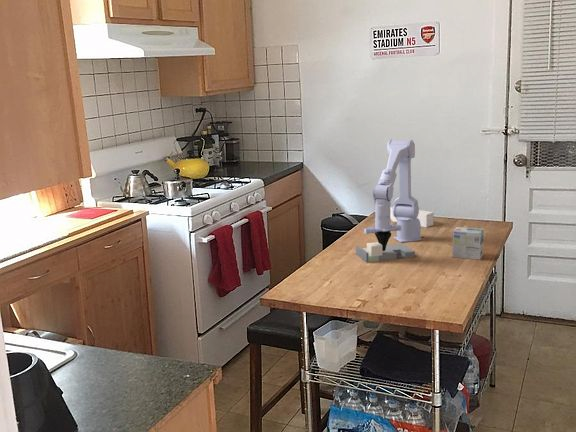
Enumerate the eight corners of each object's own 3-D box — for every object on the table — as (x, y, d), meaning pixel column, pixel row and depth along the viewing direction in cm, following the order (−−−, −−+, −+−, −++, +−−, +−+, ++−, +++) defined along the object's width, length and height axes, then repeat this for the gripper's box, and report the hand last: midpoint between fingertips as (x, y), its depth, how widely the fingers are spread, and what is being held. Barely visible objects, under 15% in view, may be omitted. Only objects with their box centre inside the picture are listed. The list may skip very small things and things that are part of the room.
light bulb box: (483, 255, 256) (484, 228, 253) (480, 260, 250) (481, 232, 247) (455, 252, 260) (456, 226, 258) (451, 257, 254) (452, 230, 252)
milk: (426, 214, 296) (385, 207, 311) (426, 227, 298) (385, 220, 312) (434, 212, 300) (393, 205, 315) (433, 225, 302) (393, 217, 317)
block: (377, 252, 257) (377, 242, 256) (382, 255, 252) (382, 245, 251) (366, 253, 255) (366, 243, 254) (371, 256, 251) (371, 246, 250)
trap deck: (402, 249, 267) (402, 240, 266) (414, 256, 256) (414, 247, 256) (356, 254, 262) (355, 245, 261) (366, 262, 252) (366, 253, 251)
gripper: (369, 220, 246) (369, 255, 250) (404, 216, 250) (404, 251, 253) (362, 215, 253) (362, 250, 256) (397, 212, 257) (396, 246, 260)
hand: (382, 250), depth 255 cm, fingers closed
